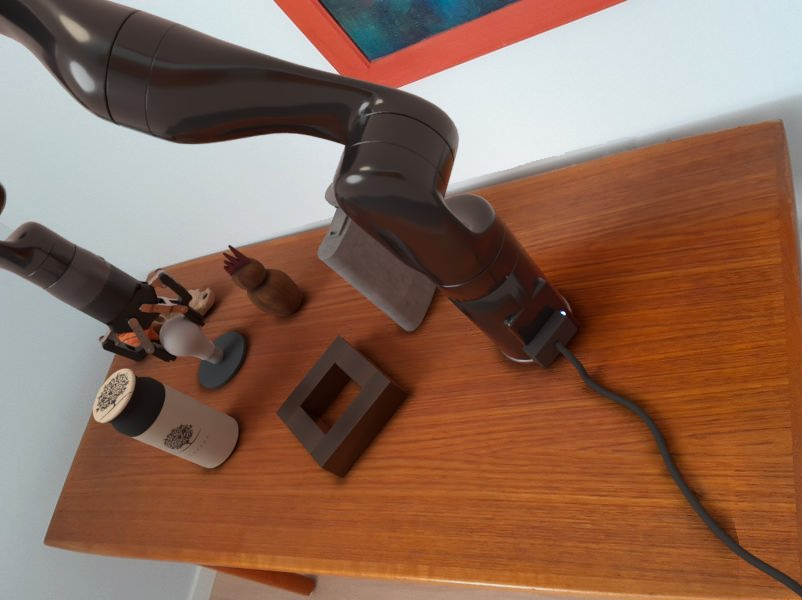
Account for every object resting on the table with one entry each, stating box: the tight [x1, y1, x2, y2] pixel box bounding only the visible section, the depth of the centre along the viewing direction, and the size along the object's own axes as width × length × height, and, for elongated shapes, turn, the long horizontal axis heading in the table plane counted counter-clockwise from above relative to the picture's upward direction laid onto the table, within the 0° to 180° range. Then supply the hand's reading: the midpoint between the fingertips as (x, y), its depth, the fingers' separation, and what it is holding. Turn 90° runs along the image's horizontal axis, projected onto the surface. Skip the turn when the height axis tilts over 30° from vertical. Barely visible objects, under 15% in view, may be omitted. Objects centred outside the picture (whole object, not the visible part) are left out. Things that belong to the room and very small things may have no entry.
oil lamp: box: [153, 287, 216, 325], centre depth 116 cm, size 13×8×5 cm, turn 92°
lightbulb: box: [158, 316, 223, 364], centre depth 102 cm, size 6×6×11 cm
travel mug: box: [92, 367, 239, 469], centre depth 91 cm, size 8×8×18 cm
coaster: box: [198, 331, 248, 390], centre depth 107 cm, size 10×10×1 cm
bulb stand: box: [275, 334, 410, 479], centre depth 85 cm, size 13×13×4 cm
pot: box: [116, 323, 160, 347], centre depth 119 cm, size 8×8×7 cm
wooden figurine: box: [222, 244, 303, 317], centre depth 99 cm, size 7×6×15 cm
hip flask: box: [317, 181, 437, 332], centre depth 83 cm, size 16×4×20 cm, turn 164°
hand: (188, 339), depth 101 cm, fingers closed on lightbulb, 6 cm apart
